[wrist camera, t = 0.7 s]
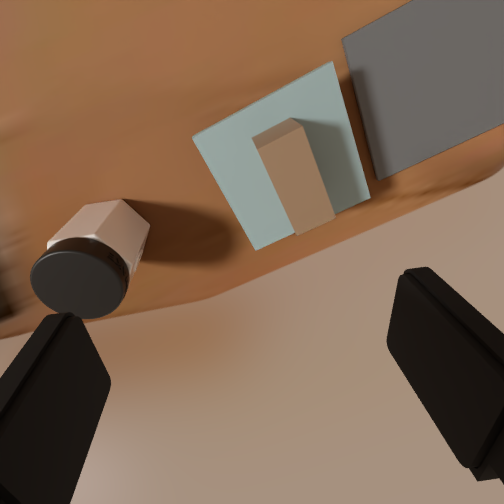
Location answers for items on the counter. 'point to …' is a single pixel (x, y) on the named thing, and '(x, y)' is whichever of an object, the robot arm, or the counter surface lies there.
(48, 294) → the jar
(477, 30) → the mat
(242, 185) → the cover
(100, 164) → the counter surface
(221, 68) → the counter surface
